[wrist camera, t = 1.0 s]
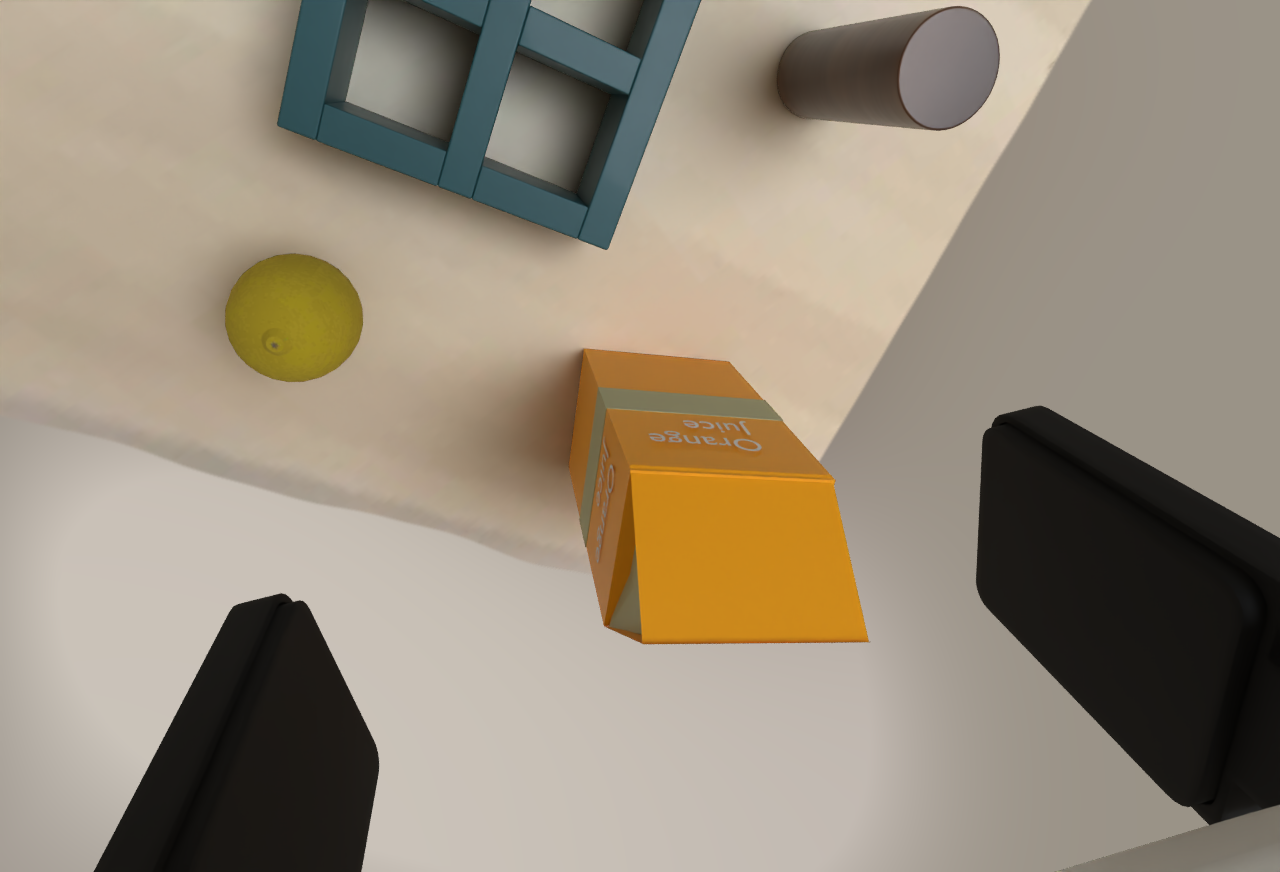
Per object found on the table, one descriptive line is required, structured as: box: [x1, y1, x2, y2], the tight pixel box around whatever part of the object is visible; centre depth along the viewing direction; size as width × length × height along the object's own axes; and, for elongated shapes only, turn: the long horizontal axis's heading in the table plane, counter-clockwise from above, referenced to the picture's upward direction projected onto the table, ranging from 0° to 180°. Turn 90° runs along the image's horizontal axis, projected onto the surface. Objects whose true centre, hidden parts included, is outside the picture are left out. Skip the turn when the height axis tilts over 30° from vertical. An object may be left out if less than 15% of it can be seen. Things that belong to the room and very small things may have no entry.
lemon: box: [225, 254, 363, 382], centre depth 33 cm, size 6×6×8 cm
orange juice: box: [569, 349, 869, 644], centre depth 34 cm, size 8×9×20 cm
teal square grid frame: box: [277, 0, 701, 250], centre depth 31 cm, size 14×14×5 cm
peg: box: [777, 6, 1000, 131], centre depth 31 cm, size 4×4×12 cm
